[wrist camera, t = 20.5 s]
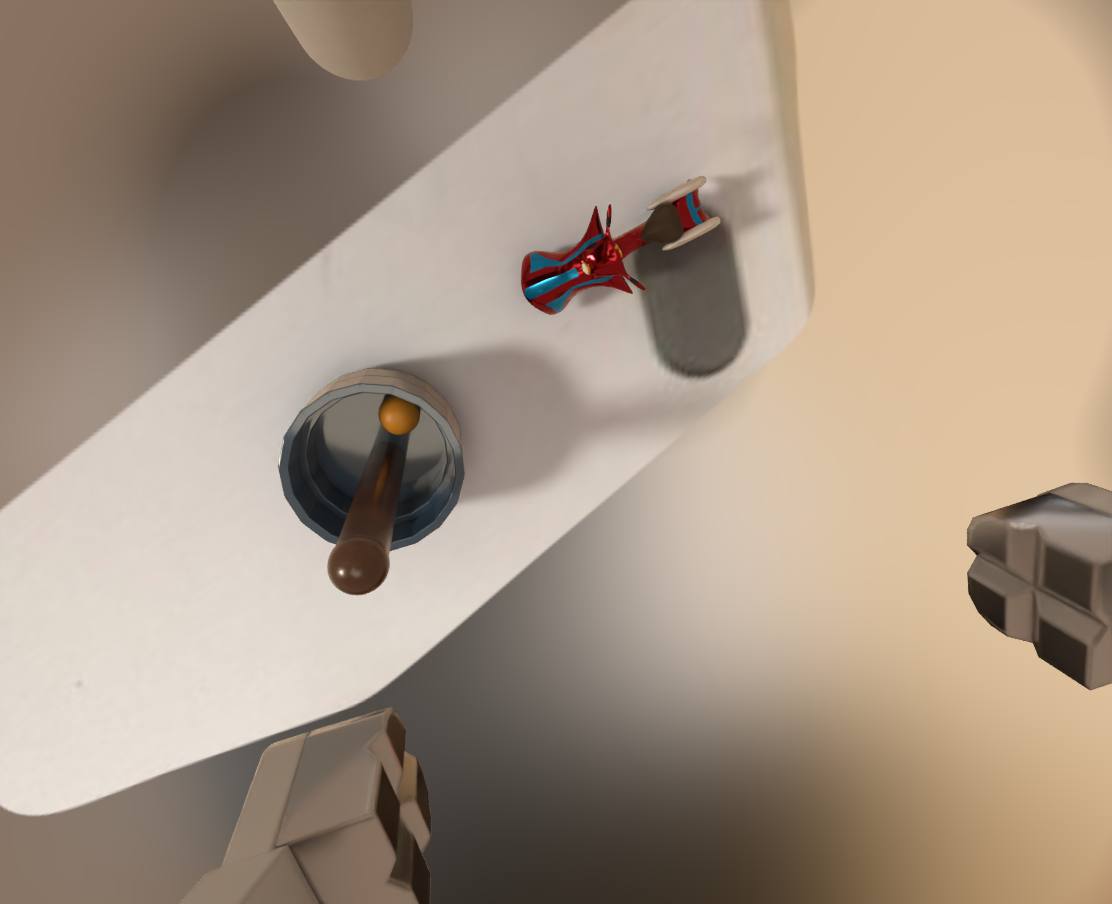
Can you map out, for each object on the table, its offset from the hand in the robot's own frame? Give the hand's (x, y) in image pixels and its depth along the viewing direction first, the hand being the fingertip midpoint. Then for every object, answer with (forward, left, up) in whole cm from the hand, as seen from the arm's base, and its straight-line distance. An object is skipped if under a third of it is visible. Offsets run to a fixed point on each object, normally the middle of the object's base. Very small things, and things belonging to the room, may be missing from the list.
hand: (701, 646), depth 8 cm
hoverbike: (-4, +8, -31) cm, 33 cm away
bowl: (+4, -8, -31) cm, 32 cm away
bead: (+2, -7, -29) cm, 30 cm away
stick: (+5, -8, -30) cm, 32 cm away
